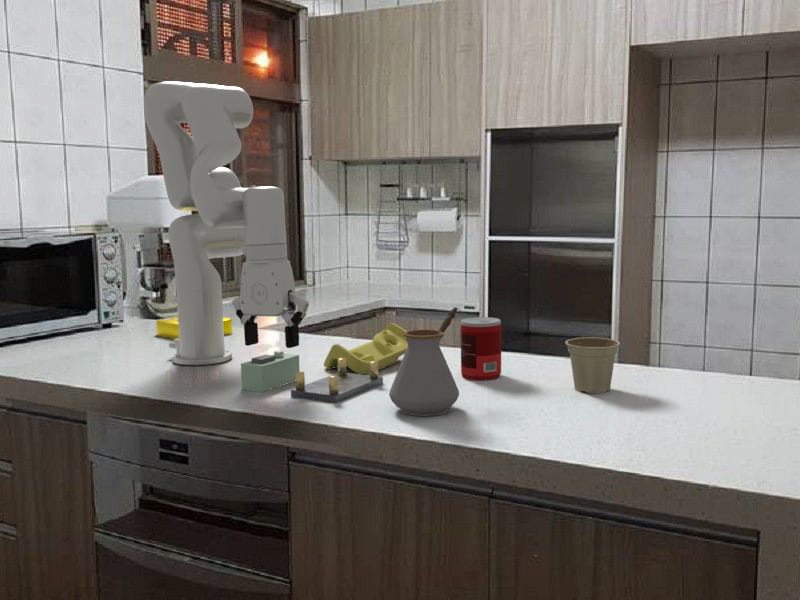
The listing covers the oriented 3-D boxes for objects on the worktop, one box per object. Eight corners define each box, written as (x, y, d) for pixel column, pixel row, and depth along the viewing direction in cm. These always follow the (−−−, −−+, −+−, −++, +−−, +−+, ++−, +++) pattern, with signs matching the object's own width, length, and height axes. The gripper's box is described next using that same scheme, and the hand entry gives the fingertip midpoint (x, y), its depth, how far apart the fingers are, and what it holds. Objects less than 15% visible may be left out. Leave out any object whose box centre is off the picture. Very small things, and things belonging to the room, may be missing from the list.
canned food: (506, 373, 155) (506, 318, 153) (493, 382, 148) (493, 324, 146) (469, 370, 158) (469, 316, 156) (455, 379, 151) (454, 322, 149)
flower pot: (589, 399, 135) (589, 349, 134) (554, 387, 143) (554, 340, 142) (630, 391, 139) (631, 343, 138) (594, 381, 147) (595, 335, 146)
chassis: (291, 396, 140) (290, 373, 139) (340, 378, 153) (340, 356, 153) (335, 402, 135) (335, 378, 135) (383, 383, 148) (382, 361, 148)
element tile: (235, 334, 206) (234, 316, 206) (184, 343, 196) (183, 324, 195) (204, 328, 217) (203, 311, 216) (154, 336, 206) (152, 318, 206)
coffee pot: (443, 422, 122) (442, 327, 120) (377, 415, 127) (375, 323, 125) (488, 390, 141) (487, 308, 139) (428, 385, 146) (427, 305, 144)
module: (242, 390, 146) (240, 358, 145) (279, 377, 155) (278, 347, 155) (263, 393, 144) (261, 360, 143) (299, 380, 153) (298, 350, 152)
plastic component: (367, 365, 154) (329, 339, 158) (356, 396, 157) (320, 369, 161) (422, 341, 170) (387, 318, 174) (412, 369, 173) (378, 346, 177)
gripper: (217, 256, 147) (223, 346, 149) (291, 255, 138) (296, 351, 140) (244, 253, 153) (249, 340, 155) (316, 252, 145) (321, 344, 147)
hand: (271, 345), depth 148 cm, fingers open, 9 cm apart
